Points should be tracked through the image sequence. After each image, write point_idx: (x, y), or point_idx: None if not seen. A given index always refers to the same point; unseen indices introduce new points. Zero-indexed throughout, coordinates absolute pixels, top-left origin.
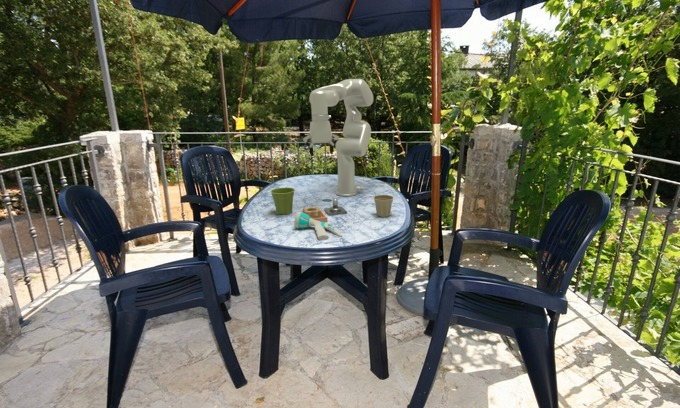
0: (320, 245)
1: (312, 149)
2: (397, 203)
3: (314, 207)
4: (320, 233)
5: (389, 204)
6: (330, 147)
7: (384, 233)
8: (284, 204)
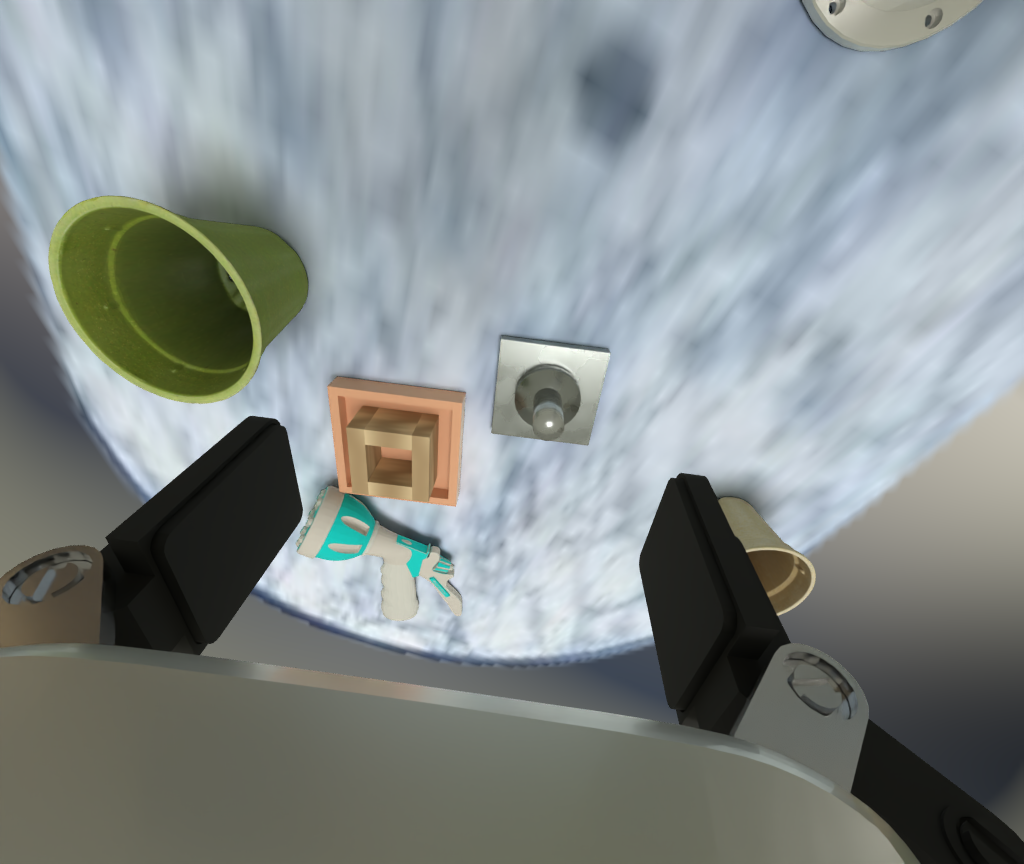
0: (383, 631)
1: (217, 619)
2: (950, 405)
3: (409, 442)
4: (390, 610)
5: None
6: (680, 644)
7: (594, 638)
8: (233, 349)
